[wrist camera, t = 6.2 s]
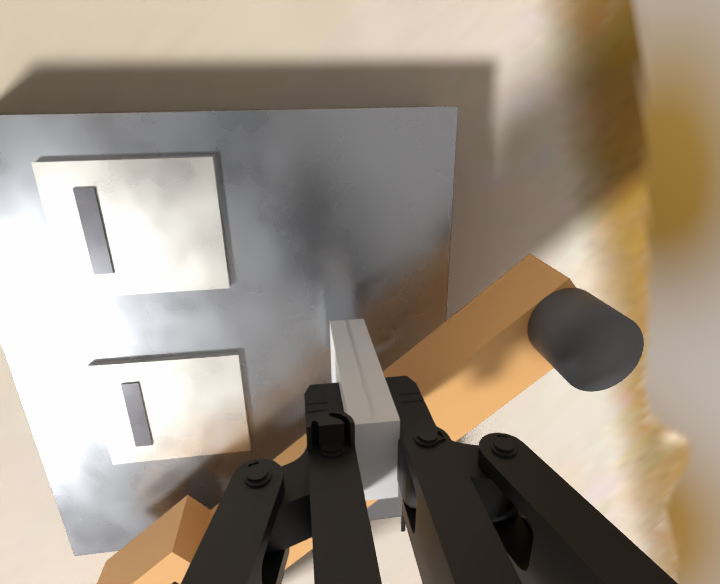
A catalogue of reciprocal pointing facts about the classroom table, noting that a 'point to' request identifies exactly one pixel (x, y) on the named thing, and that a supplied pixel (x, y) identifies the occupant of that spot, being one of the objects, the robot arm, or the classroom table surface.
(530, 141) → the classroom table surface
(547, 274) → the bar
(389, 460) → the robot arm
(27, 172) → the board
